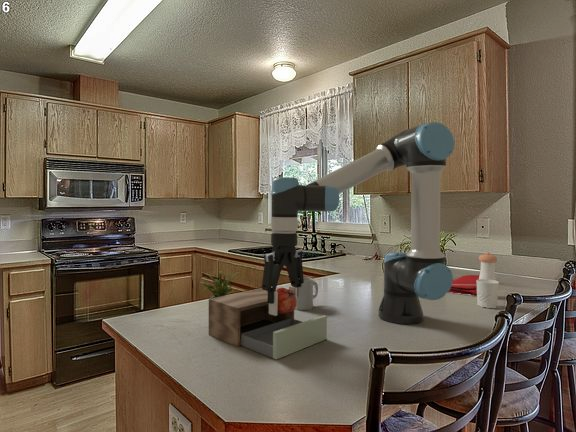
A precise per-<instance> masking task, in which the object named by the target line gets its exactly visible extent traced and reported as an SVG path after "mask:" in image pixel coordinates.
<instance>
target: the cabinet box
mask: <svg viewBox="0 0 576 432" xmlns="http://www.w3.org/2000/svg"><path fill="white" fill-rule="evenodd" d="M210 298H211V297H210ZM210 298H208V335H209V336H211V337H213V338H216V339H218V340H220V341H223V342H226V343H228V344H230V345H232V346H235V347H240V346H241V345H240V341H241V327H244V326H247V325H250V324H251V325H252V324H254V323H258V322H261V321H264V320H265V321H268V322H271V323H276V322H280V321H283V320H286V319H289V318H290V319H295V310H293V311H292V312H288V313H284V314H282V313H278V312H277V316H274V315H271V314H269V303H268V292H267V291H266V290H263V289H262V287H260V288H255V289H249V290H246V291H241V292H237V293H236V292H235V293H231V294H226V296H221V297H216V298H211V299H210Z"/></svg>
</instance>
